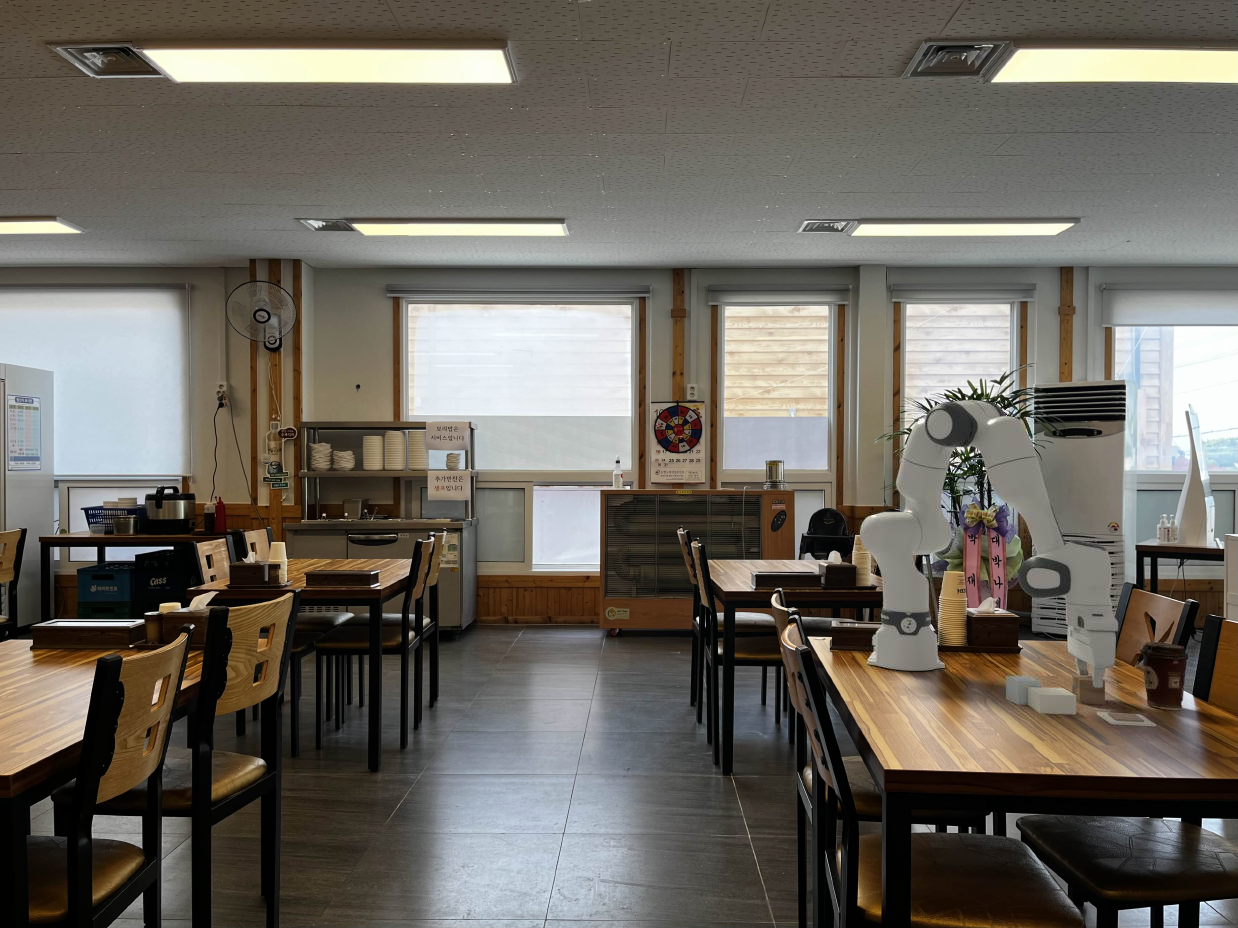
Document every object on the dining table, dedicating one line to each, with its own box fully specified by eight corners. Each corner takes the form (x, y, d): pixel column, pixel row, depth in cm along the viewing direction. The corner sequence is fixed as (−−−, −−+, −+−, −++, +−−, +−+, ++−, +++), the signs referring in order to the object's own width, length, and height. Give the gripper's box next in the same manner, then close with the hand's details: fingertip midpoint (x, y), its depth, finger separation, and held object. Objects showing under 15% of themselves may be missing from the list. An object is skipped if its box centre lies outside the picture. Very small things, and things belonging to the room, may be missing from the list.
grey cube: (1006, 699, 195) (1006, 675, 195) (1028, 699, 195) (1028, 675, 196) (1018, 704, 190) (1018, 680, 190) (1041, 704, 190) (1040, 680, 191)
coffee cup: (1144, 709, 187) (1143, 645, 187) (1136, 700, 195) (1136, 639, 195) (1192, 713, 184) (1192, 649, 184) (1183, 704, 192) (1182, 642, 192)
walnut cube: (1072, 698, 197) (1072, 674, 197) (1097, 699, 196) (1097, 676, 196) (1079, 703, 192) (1079, 679, 192) (1105, 704, 191) (1105, 680, 191)
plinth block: (1027, 705, 190) (1027, 686, 190) (1062, 707, 189) (1062, 687, 189) (1040, 714, 183) (1039, 694, 183) (1076, 715, 182) (1076, 695, 182)
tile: (1096, 713, 183) (1096, 710, 183) (1140, 716, 181) (1140, 712, 181) (1110, 723, 175) (1110, 720, 175) (1155, 726, 173) (1155, 722, 173)
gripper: (1059, 610, 205) (1060, 672, 204) (1087, 622, 185) (1088, 691, 184) (1089, 611, 204) (1090, 673, 203) (1121, 623, 184) (1122, 692, 183)
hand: (1089, 682), depth 194 cm, fingers open, 8 cm apart
